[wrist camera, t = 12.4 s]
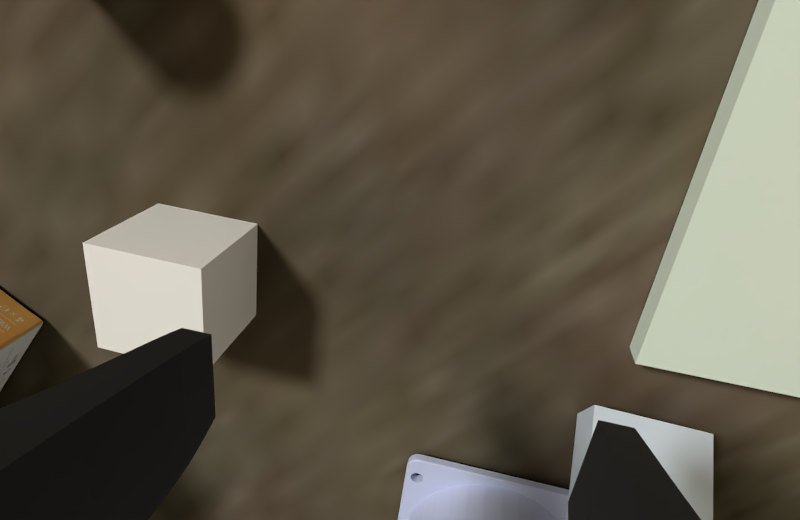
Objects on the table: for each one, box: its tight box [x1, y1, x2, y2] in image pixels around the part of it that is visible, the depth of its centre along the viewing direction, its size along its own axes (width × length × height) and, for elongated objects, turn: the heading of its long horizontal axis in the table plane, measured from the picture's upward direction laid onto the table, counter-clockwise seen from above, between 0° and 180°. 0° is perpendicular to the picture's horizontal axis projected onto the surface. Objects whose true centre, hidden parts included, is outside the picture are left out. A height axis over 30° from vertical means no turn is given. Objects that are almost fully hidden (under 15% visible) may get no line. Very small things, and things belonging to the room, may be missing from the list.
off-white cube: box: [83, 204, 258, 364], centre depth 19 cm, size 4×4×4 cm
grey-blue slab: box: [566, 405, 713, 520], centre depth 18 cm, size 6×4×2 cm
